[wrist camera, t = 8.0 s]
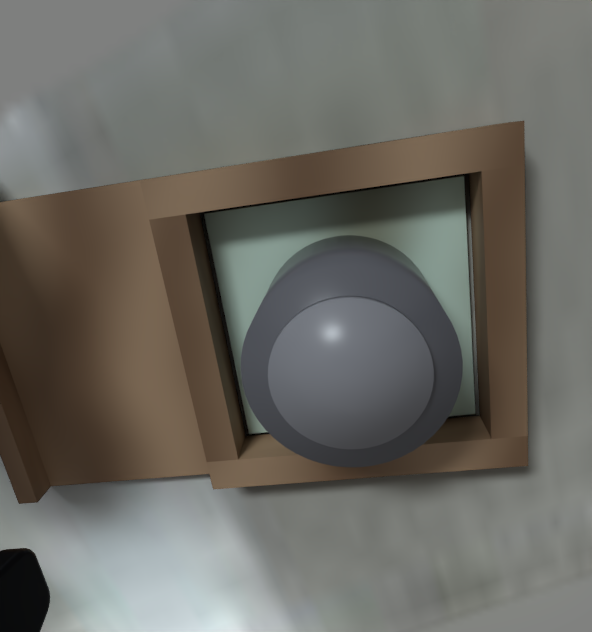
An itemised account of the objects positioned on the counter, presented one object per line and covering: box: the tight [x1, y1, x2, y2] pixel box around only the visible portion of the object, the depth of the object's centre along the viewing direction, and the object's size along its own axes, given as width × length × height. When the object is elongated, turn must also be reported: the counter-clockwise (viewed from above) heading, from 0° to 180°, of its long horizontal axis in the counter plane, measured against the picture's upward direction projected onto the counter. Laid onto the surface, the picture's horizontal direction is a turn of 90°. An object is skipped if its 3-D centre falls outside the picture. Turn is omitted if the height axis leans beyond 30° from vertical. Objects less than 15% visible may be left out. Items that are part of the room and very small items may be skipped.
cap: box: [241, 235, 463, 467], centre depth 16 cm, size 6×6×5 cm
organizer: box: [0, 121, 528, 504], centre depth 18 cm, size 19×11×2 cm, turn 99°
